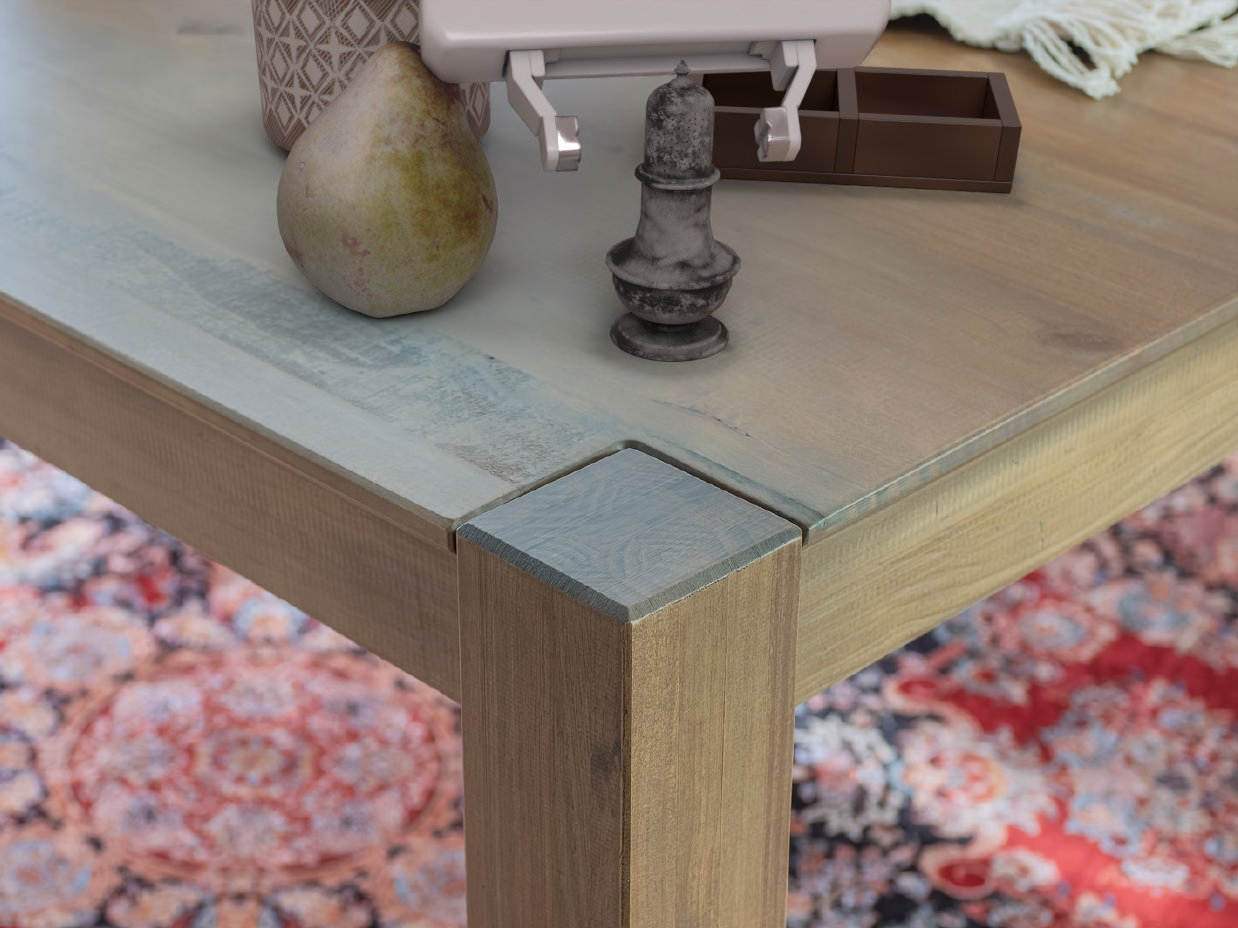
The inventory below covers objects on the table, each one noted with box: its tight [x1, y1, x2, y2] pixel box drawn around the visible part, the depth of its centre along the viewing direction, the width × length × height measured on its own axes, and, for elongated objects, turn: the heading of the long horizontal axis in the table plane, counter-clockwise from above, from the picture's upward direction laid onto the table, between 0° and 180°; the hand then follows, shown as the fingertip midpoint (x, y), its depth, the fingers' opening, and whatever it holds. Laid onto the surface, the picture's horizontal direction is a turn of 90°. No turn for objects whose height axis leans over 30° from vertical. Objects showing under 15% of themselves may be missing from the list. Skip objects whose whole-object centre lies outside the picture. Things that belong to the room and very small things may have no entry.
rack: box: [687, 65, 1023, 194], centre depth 92 cm, size 18×10×4 cm, turn 84°
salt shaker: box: [604, 60, 742, 362], centre depth 70 cm, size 6×6×12 cm
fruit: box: [276, 41, 499, 319], centre depth 73 cm, size 10×9×12 cm
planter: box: [250, 0, 491, 152], centre depth 91 cm, size 13×13×10 cm
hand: (672, 161), depth 70 cm, fingers open, 8 cm apart
